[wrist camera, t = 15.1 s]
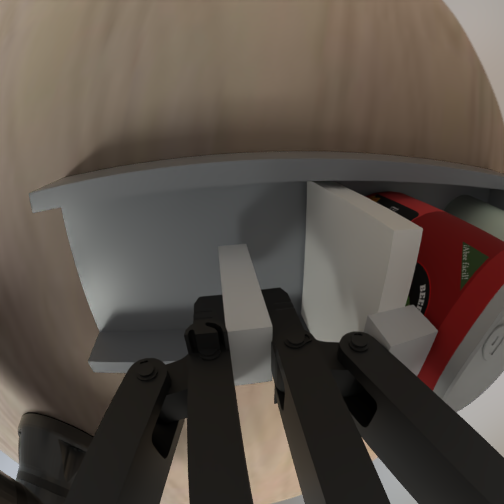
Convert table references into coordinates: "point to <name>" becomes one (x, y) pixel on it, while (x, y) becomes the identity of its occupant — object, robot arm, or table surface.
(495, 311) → the canned food
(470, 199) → the green jar
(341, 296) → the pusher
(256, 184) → the lane
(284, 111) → the table surface
